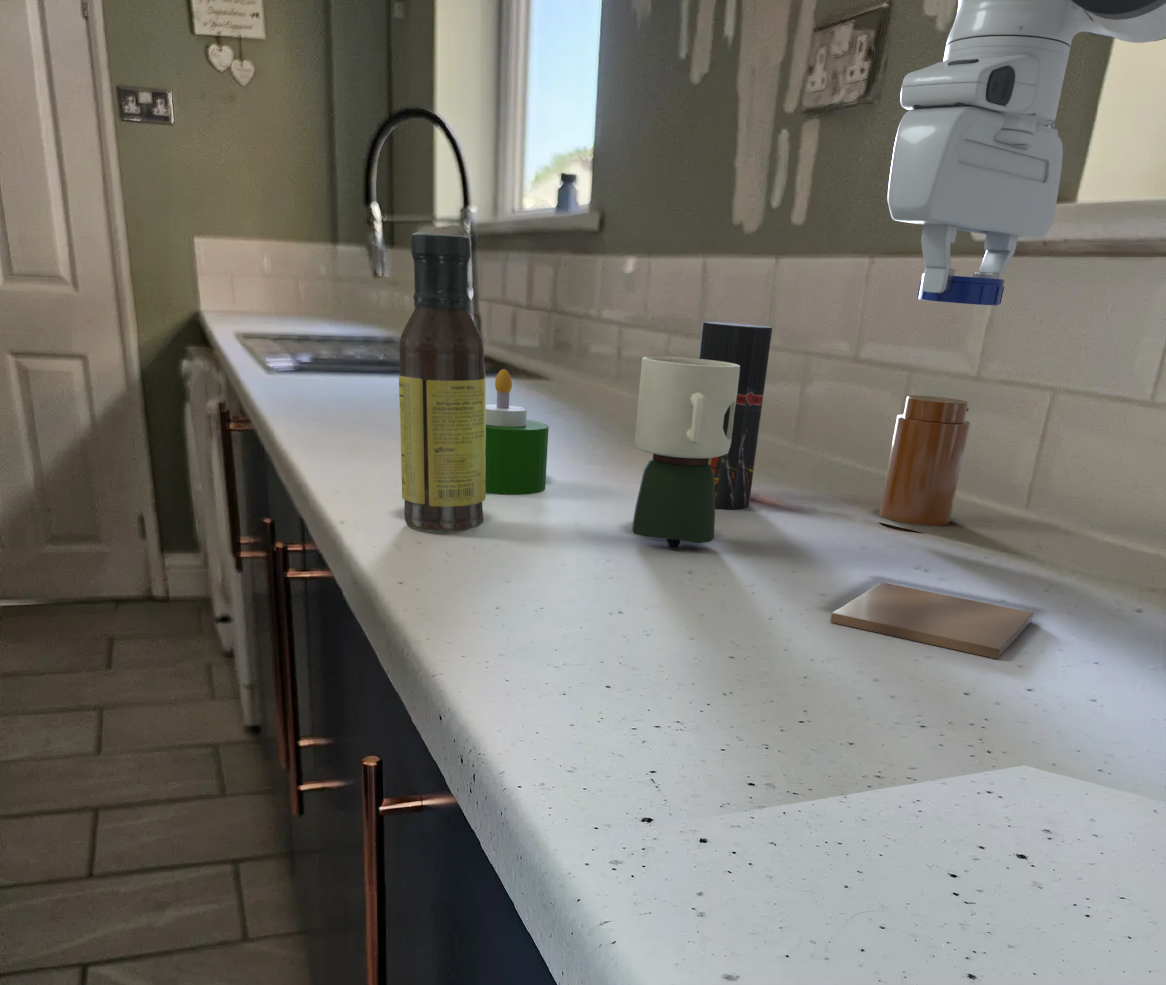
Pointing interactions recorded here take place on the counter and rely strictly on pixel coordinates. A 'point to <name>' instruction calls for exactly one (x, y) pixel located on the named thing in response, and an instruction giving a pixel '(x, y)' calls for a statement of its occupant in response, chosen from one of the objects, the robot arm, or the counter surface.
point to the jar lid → (968, 291)
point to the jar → (925, 461)
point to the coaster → (935, 619)
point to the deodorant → (739, 404)
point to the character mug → (682, 444)
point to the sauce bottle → (442, 392)
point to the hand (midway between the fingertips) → (960, 294)
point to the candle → (513, 446)
